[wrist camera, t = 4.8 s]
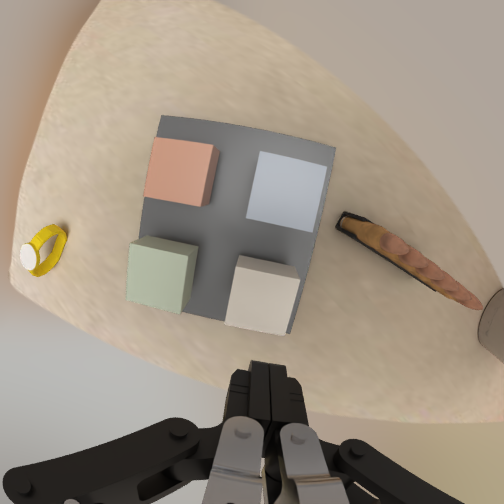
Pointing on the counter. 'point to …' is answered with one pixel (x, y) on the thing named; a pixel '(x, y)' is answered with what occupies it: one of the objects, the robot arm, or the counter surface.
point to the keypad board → (233, 211)
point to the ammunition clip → (405, 258)
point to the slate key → (286, 191)
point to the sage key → (160, 273)
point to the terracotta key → (181, 171)
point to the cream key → (262, 295)
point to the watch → (31, 249)
